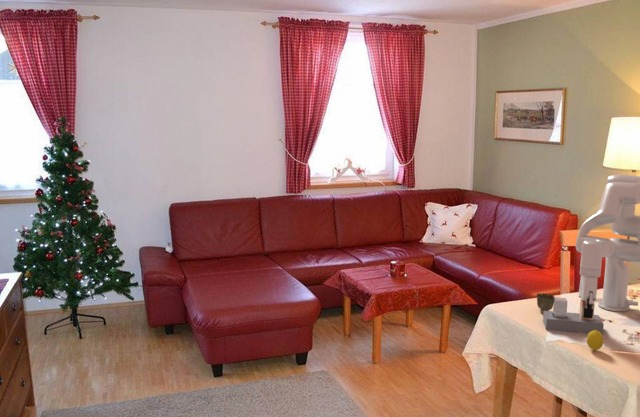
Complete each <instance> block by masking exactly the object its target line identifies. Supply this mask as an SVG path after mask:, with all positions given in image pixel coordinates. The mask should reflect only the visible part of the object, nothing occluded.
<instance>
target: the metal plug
mask: <svg viewBox="0 0 640 417" xmlns="http://www.w3.org/2000/svg"><path fill="white" fill-rule="evenodd" d="M552 311H553V317H554V318H565V319H566V315H567V313H568V312H567V311H568V300H567V297H558V296H554V304H553V307H552Z"/></svg>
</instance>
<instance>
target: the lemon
mask: <svg viewBox="0 0 640 417" xmlns="http://www.w3.org/2000/svg"><path fill="white" fill-rule="evenodd" d="M586 344H587V346H588V347H589V348H590V349H591V350H592V351H593V352H594V351H596V350H599V349H601V348H603V345H604V336H603V335H602V334H601V333H600V332H599V331H597V330H594V331H591V332H590V333H589V334H587V336H586Z"/></svg>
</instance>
